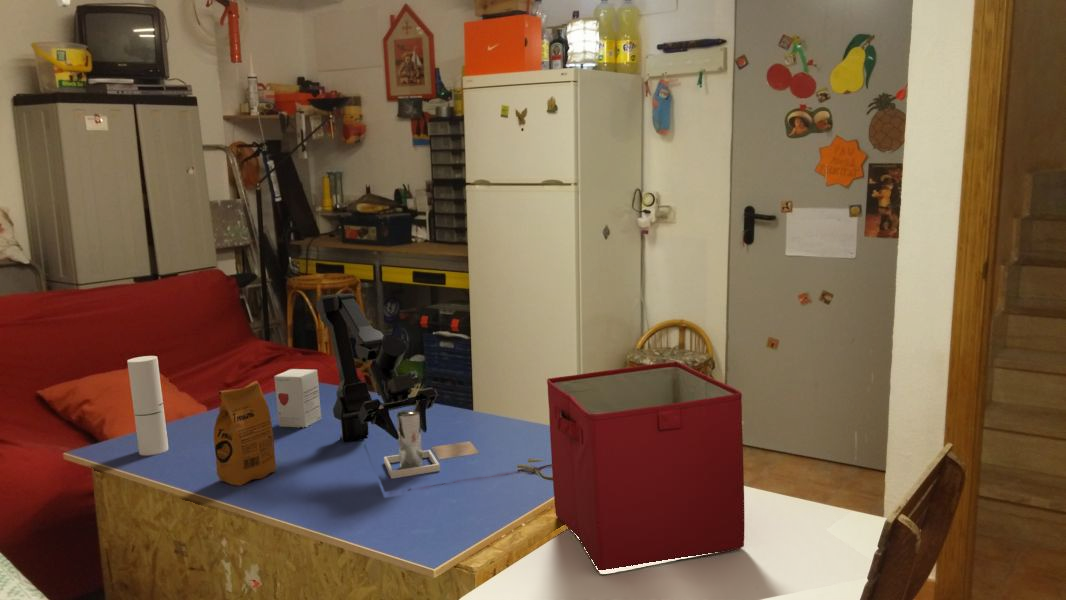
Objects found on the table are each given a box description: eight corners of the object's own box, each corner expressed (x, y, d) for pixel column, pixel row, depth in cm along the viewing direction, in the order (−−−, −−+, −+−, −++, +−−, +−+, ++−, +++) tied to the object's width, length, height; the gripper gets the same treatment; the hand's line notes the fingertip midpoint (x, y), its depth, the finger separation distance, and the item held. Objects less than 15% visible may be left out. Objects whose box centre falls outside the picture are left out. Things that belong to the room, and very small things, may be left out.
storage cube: (589, 581, 138) (581, 414, 133) (543, 518, 164) (536, 376, 160) (761, 549, 146) (759, 391, 142) (691, 494, 172) (688, 358, 168)
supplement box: (277, 427, 235) (272, 375, 233) (295, 417, 244) (290, 368, 242) (305, 428, 233) (300, 376, 230) (322, 418, 241) (317, 368, 239)
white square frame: (391, 482, 187) (390, 472, 187) (384, 466, 198) (383, 456, 198) (440, 474, 191) (439, 464, 190) (430, 459, 201) (430, 449, 201)
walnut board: (439, 463, 198) (439, 459, 198) (431, 450, 208) (431, 447, 208) (479, 457, 201) (479, 453, 201) (469, 445, 211) (469, 441, 211)
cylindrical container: (173, 446, 223) (162, 355, 219) (159, 455, 215) (147, 361, 212) (148, 446, 223) (137, 356, 219) (133, 455, 216) (121, 362, 212)
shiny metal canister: (397, 470, 192) (394, 415, 191) (403, 463, 197) (400, 410, 196) (419, 469, 191) (416, 414, 190) (424, 463, 197) (421, 409, 195)
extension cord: (548, 457, 200) (548, 449, 200) (598, 471, 189) (598, 462, 189) (512, 472, 192) (512, 463, 191) (563, 487, 181) (562, 478, 180)
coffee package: (211, 481, 194) (201, 390, 191) (256, 464, 204) (247, 378, 201) (236, 488, 189) (226, 395, 185) (282, 471, 198) (273, 382, 195)
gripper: (359, 368, 188) (383, 425, 181) (431, 354, 199) (457, 408, 192) (348, 395, 196) (371, 451, 189) (418, 380, 207) (443, 433, 199)
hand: (411, 435), depth 192 cm, fingers open, 7 cm apart
